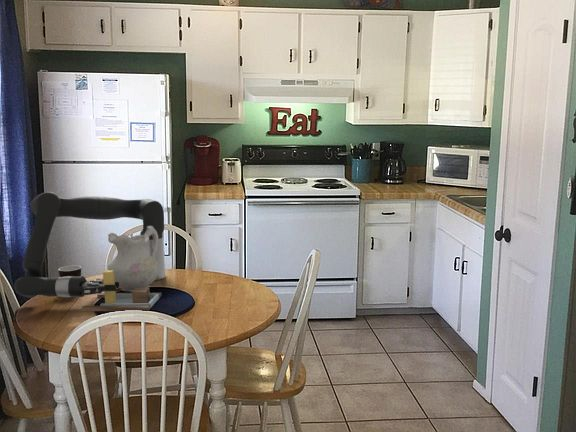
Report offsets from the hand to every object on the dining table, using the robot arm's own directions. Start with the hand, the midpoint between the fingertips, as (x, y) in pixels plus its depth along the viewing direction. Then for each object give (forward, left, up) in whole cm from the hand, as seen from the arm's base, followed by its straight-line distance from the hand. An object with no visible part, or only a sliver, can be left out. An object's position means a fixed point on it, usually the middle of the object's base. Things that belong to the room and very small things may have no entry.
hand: (117, 286), depth 243 cm
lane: (0, +2, -8) cm, 8 cm away
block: (0, +9, -6) cm, 11 cm away
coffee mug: (-19, -24, -8) cm, 32 cm away
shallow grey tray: (0, +5, -8) cm, 9 cm away
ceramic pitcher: (-21, +1, -8) cm, 22 cm away
